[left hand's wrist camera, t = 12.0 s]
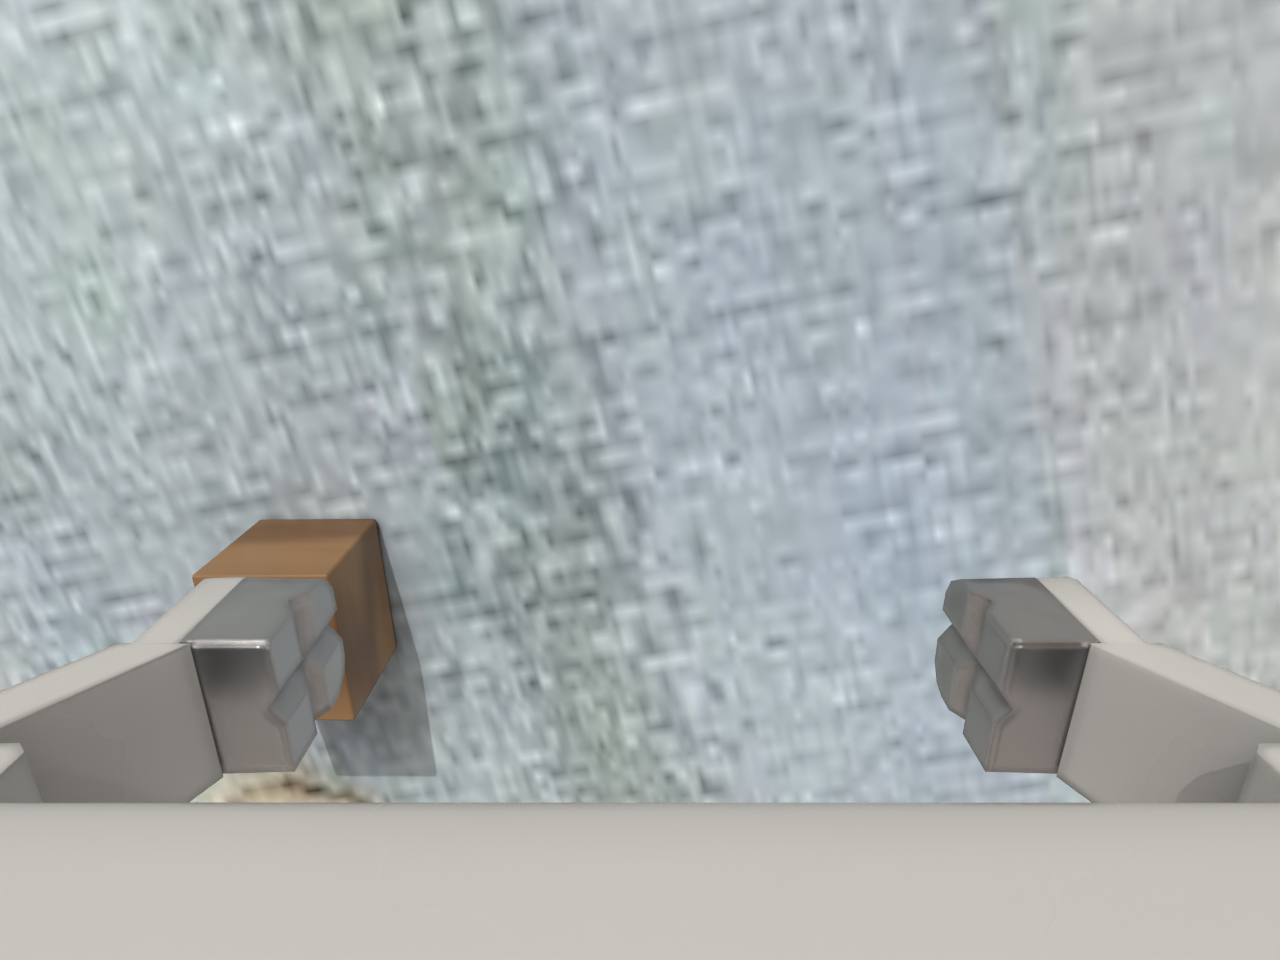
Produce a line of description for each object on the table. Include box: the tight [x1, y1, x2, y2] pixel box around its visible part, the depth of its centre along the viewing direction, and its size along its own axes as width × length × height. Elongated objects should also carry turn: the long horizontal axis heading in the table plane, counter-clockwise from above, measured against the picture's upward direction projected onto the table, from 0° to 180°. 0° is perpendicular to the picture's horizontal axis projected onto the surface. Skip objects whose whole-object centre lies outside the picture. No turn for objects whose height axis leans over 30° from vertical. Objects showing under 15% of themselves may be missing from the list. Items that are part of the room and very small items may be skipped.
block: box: [193, 519, 396, 720], centre depth 24 cm, size 5×4×4 cm
